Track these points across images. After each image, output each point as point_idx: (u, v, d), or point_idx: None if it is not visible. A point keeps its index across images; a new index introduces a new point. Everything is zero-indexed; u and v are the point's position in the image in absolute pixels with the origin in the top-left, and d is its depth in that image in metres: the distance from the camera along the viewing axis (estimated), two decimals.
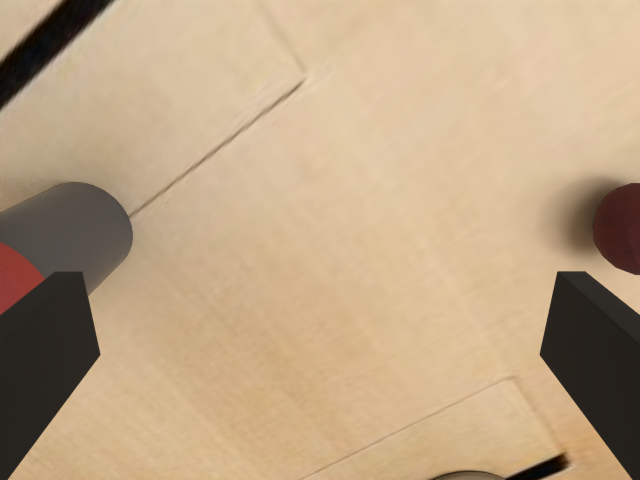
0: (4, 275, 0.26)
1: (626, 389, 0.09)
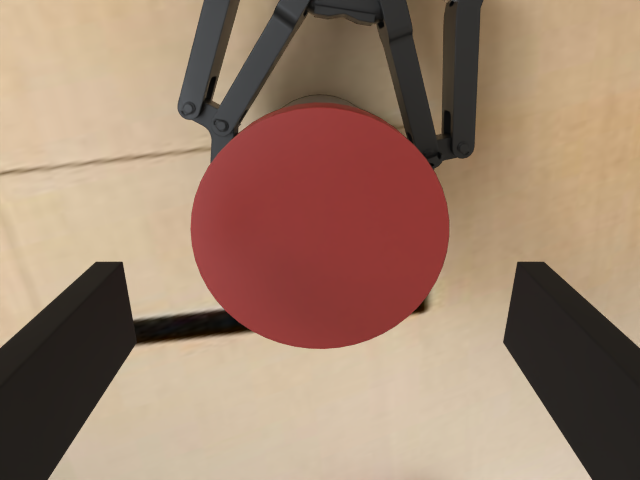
0: (198, 260, 0.18)
1: (571, 370, 0.10)
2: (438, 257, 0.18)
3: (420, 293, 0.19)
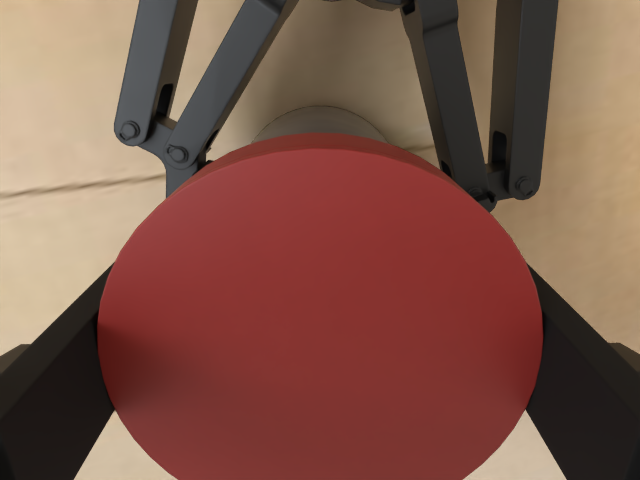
0: (114, 398, 0.11)
1: (541, 360, 0.10)
2: (520, 394, 0.11)
3: (486, 446, 0.11)
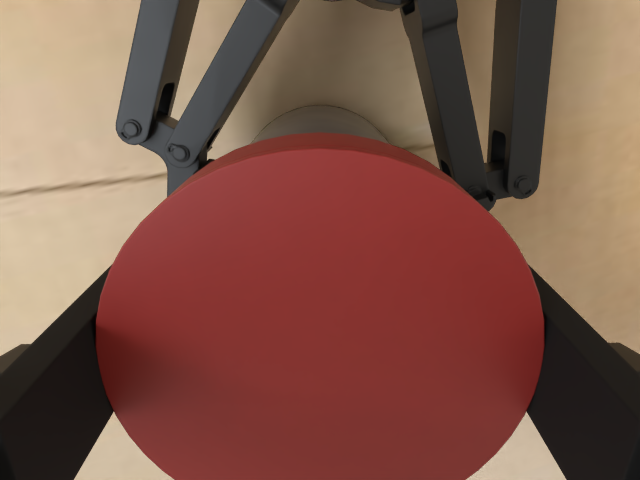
0: None
1: None
2: (453, 202, 0.09)
3: (506, 258, 0.09)
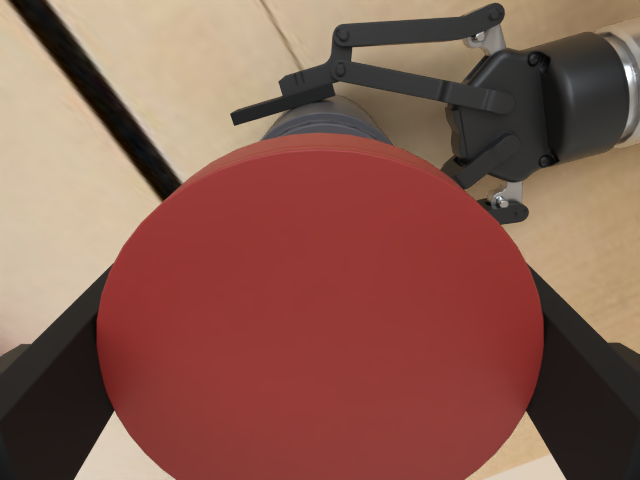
0: None
1: None
2: (452, 203, 0.09)
3: (506, 258, 0.09)
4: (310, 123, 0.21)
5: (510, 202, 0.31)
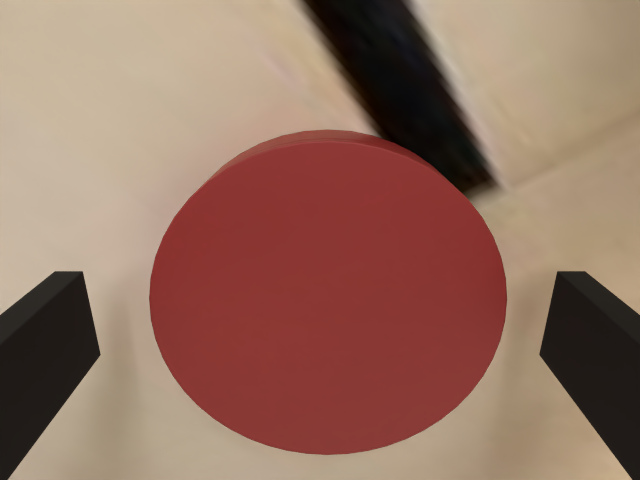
0: (287, 447, 0.15)
1: (626, 389, 0.09)
2: (431, 183, 0.12)
3: (474, 227, 0.12)
4: None
5: None
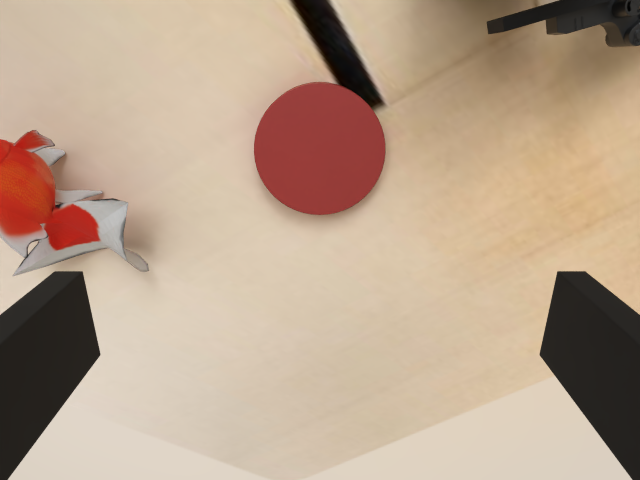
0: (304, 211, 0.37)
1: (626, 389, 0.09)
2: (354, 98, 0.34)
3: (371, 115, 0.34)
4: None
5: None
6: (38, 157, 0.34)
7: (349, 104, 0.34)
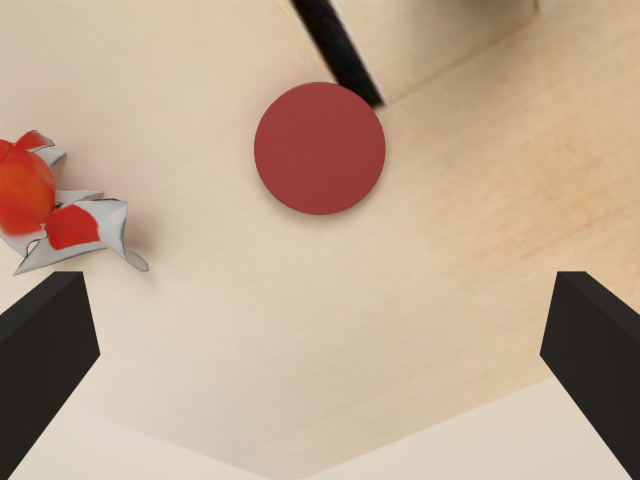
0: (304, 211, 0.37)
1: (626, 389, 0.09)
2: (354, 98, 0.34)
3: (371, 115, 0.34)
4: None
5: None
6: (38, 157, 0.34)
7: (349, 104, 0.34)
